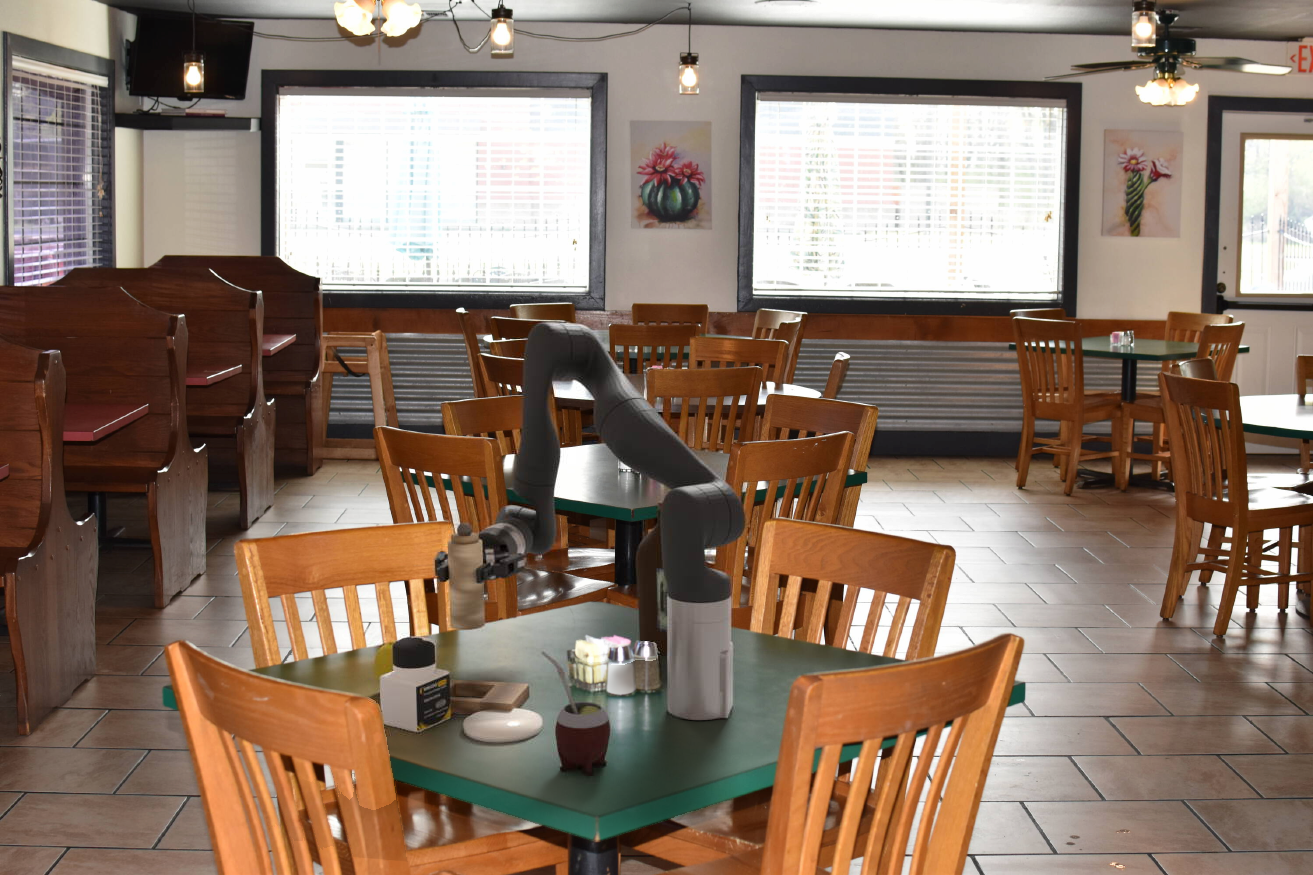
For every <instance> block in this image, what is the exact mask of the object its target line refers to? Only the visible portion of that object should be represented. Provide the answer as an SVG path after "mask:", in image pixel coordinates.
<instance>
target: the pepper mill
mask: <svg viewBox="0 0 1313 875" xmlns="http://www.w3.org/2000/svg"><path fill="white" fill-rule="evenodd" d="M478 533H479V532H473V527H472V526H471V524H469V523H468V522H460V524H459V525H458V526H457V528H456V532H455V533H452V534H451V535H450V540H448V541H447V553H448V569H449V580H448V589H449V590H448V591H449V595H448V596H449V597H448V598H449V618H450V619H449V620H450V621H449V622H450V625H449V626H450V628H452V629H454V630H457V631H468V630H469V631H470V630H471V631H472V630H478V629H481V628H483V627H485V626H486V620H485V619H486V617H485V615H486V614H485V591H484V588H485V585H484V583H485V582H483V583H477V582H476V569H477V568H478V567H480V566H481V565H483V549H482V540H480V539H479V534H478Z"/></svg>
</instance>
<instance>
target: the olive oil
mask: <svg viewBox="0 0 1313 875" xmlns="http://www.w3.org/2000/svg"><path fill="white" fill-rule="evenodd" d="M663 500H664V499H663ZM663 500H662V499H661V500H658V502H657V506H658V508H657V510H656V515H657V516H656V518H657V519H656V520H657V522H656V524H655V526H654V527H653V528H652V529H651V530H650V531H649V532H648V533H647V535H645V536H644V538H643V539H642V540H641V541H640V543H639V545H638V547H637V550H636V552H635V573H636V587H637V588H636V589H637V603H638V604H637V606H638V630H639V631H638V633H639V636H638V637H639V642H640V641H650V642H655V643H656V644H657V648H658V651H659V652H660V654H659V655H666V656H667V583H666V580H665V576H664V572H663V563H662V544H661V527H660V516H661V507H662V503H663Z"/></svg>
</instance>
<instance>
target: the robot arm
mask: <svg viewBox="0 0 1313 875" xmlns="http://www.w3.org/2000/svg"><path fill="white" fill-rule="evenodd" d="M524 347H525V348H524V355H523V357H524V358H523V368H522V370H523V373H522V374H523V375H522V397H521V398H522V404H521V409H522V410H521V434H520V440H519V447H518V448H519V449H518V454H517V458H516V462H515V470H514V475H513V479H512V480H513V481H512V490H513V492H514V493H515V494H516V496H518V497H520V498H521V499H522V500H523V499H524V500H525V501H527V502H528V503H529V504H531V505H532V506H533V509H534V510H533V509H530V508H526V507H524V506H520V505H513V504H510V505H504V506H503V507H502V508H501V509H500V510H498V513H497V515H496V517H495V520H494V524H492V525H490V526H487V527H486V528H484V529H483V530H481V531H480V532H477V533H478V534H479V539H480V540H482V549H483V565H481V566H480V567H478V568H477V569H476V582H477V583H483V582H484V583H485V582H486V581H495V580H497V579H499V578H500V579H508V578H510V577H512V576H515V575H516V574H518V573H521V572H523V571H525V556H526V555H528V554H534V555H541V556H542V555H544V554H546V553H548V552H549V551H550V550H551V549H552V548H553V546H554V544H555V542H556V537H557V520H556V510H555V488H556V482H557V479H558V478H557V477H558V472H559V468H560V463H561V444H560V440H559V435H558V433H557V429H556V427H555V424H554V421H553V417H552V414H551V410H550V400H549V399H550V393H551V392H550V391H551V386H552V384H553V381H554V380H560V381H570V380H571V381H575V382H577V383H580V384H581V385H582V386H583V387H584V388H585V389H586V390H587V392H588V393H589V394H590V396H592V398H593V400H594V404H593V423H594V424H593V425H594V429H595V431H596V433H597V435H598V436H599V438H600V439H601V441H602V443H604V444H605V445H606V447H607V448H608V449H609V450H610V452H611V453H612V454H613V455H614V456H615V458H617V459H618V461H619V462H621V463H622V464H623V465H624V466H626V467H628V468H630V469H631V470H633V471H635V472H636V473H639V474H640V475H643V476H644V477H647V478H649V479H651V480H653V481H655V482H657V483H659V484H660V485H663V486H665V487H667V488H668V489H670V490H669V491H668V492H667V493H666V495H665V496H664V498H663V503H662V507H661V516H660V527H661V544H662V563H663V572H664V576H665V580H666V583H667V655H666V657H667V660H666V662H667V665H666V666H667V668H666V671H667V672H666V673H667V677H666V678H667V680H666V681H667V683H666V684H667V685H666V686H667V694H666V697H667V698H666V699H667V711H668V713H669V714H670V715H672V716H674V717H676V718H679V719H684V720H691V721H708V720H715V719H728V718H729V716H730V713H731V710H732V708H733V706H734V642H732V579H731V577H730V575H729V574H728V573H726V572H724V571H721V570H717V569H714V568H710V567H708V566H707V561H706V553H705V552H706V549H712V548H719V547H721V546H722V547H723V546H725V545H729V544H732V543H734V542H737V540H738V539H740V537H741V536H742V535H743V534H744V532H745V528H746V523H747V522H746V520H747V518H746V512H745V510H744V506H743V503H742V501H741V499H740V497H739V496H738V494H737V492H735V490H734V489H733V487H732V486H730V484H728V483H727V482H726V481H725V480H724V479H723V478H722V477H721V476H720V475H718V473H716V472H715V470H713V469H712V468H710V466H708V465H707V464H706V463H705V462H704V461H703V460H702V459H700V458H699V457H698V456H697V454H695V453H694V452H693V451H692V450H691V448H690V447H689V446H688V445H686V443H685V442H684V441H683V440H682V439H681V438H680V437H679V436H678V435H677V434H676V433H675V432H674V430H673V429H672V428H671V427H670V426H669V424H667V422H666V421H665V419H664V418H663V417H662V416H661V415H660V414H659V412H657V410H656V409H655V408H654V407H653V406H652V404H650V403H649V401H648V400H647V399H646V398H645V397H644V396H643V395H642V394H641V393H640V391H638V390H637V388H636V387H635V386H634V385H633V383H632V382H631V381H630V379H628V378H627V377H626V375H625V374H624V373H623V372H622V371H621V369H620V368H619V367H618V365H617V363H616V362H615V361H614V359H613V358H612V356H611V355H610V353H609V352H608V350H607V349H606V347H605V346H604V344H603V343H602V341H601V340H600V339H599V337H598V336H597V334H595V332H594V331H593V330H591V328H590V327H588V326H586V325H585V324H580V323H575V322H573V323H572V322H571V323H570V322H550V321H549V322H539V323H537V324H536V325H535V326H533V327H532V328H531V330H530V331H529V333H528V335H527V339H526V342H525V345H524ZM434 576H437V580H439V583H446V582H449V569H448V552H447V551H444V550H440V551H438V552H437V554H436V556H435V557H434Z"/></svg>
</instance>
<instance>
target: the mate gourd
mask: <svg viewBox="0 0 1313 875" xmlns="http://www.w3.org/2000/svg"><path fill="white" fill-rule="evenodd" d="M541 655H542V656H544V658H546V659H547V660H548V661H549V662H550V663H551V664H552V665H553V666H554V667H555V668H556V669H557V671H556V672H557V674H558V676H559V677H560V679H561V681H562V684H563V685H562V686H563V688H564V691H565V693H566V696H567V698H568V702H569V704H566V705H565V706H563V707H562V709H561V710H560V712H559V713H558V715H557V718H556V723H555V732H554V734H555V735H554V736H555V741H556V749H557V754H558V757H559V760H560V763H561V766H559V771H560V772H561V773H565V772H571V771H579V770H581V771H582V772H583V774H585V776H587V777H593V776H594V771H593V770H592V769H593V768H600V767H605V766H607V764H608V762H607V760H605V759H606V756H607V753H608V752H607V751H608V747H609V742H610V736H611V722H610V719H609V715H608V713H607V711H606V710H605V709H604V707H603V706H602V705H601V704H598V703H596V702H592V701H591V702H590V701H577V702H575V701H574V699H573V696H572V694H571V690H570V687H569V685H568V680H567V678H566V676H565V675H566V673H565V670H564V669H563V668H562V666H561V665H560V664H559V663H558V662H557V661H556V660H555V658H553V657H551V656H550V655H549V654H547V653H546V652H545V651H543V650H542V651H541Z"/></svg>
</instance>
